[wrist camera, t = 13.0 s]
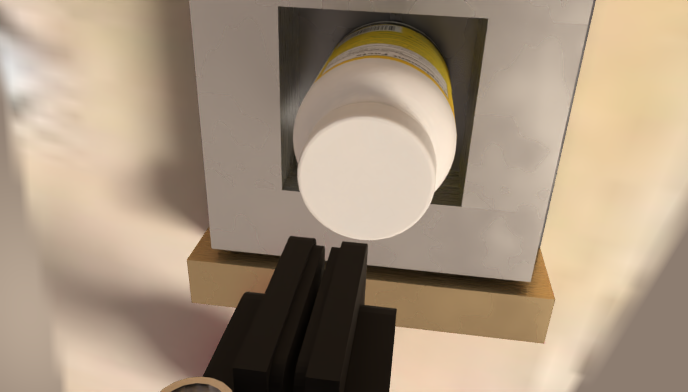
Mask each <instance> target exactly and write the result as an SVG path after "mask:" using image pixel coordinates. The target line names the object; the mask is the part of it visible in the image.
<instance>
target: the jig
mask: <svg viewBox="0 0 688 392" xmlns="http://www.w3.org/2000/svg"><path fill="white" fill-rule="evenodd" d="M595 1H596V0H189V7H190V18H191V29H192V40H193V51H194V62H195V73H196V84H197V95H198V106H199V116H200V127H201V138H202V149H203V160H204V171H205V182H206V193H207V204H208V215H209V228H208V229H207V231H206V232H205V234H204V235H203V237H202V238H201V240H200V241H199V243H198V244H197V246H196V247H195V249H194V250H193V251H192V253H191V254H190V256H189V257H188V259H187V265H188V274H189V283H190V291H191V300H192V303H200V304H208V305H217V306H226V307H234V308H236V307H237V305H238V303H239V301H240V299H241V297H242V296H243V294H244V293H245V292H255V293H264V294H265V291H266V289H267V287H268V284H269V282H270V280H271V277H272V275H273V273H274V271H275V268H276V266H277V264H278V261H279V259H280V257H281V254H282V252H283V250H284V247H285V245H286V243H287V240H288V238H289V237H290V236H297V237H307V238H315V239H316V245H320V246H324V247H325V267H326V264H327V260H328V257H329V254H330V250H331V248H332V247H339V248H340V247H341V243H342V241H347V242H356V243H366V244H368V255H367V271H366V288H365V305H370V306H379V307H388V308H396V309H397V313H396V324H395V326H398V327H406V328H415V329H423V330H432V331H441V332H449V333H458V334H466V335H475V336H484V337H492V338H501V339H509V340H518V341H527V342H535V343H544V341H545V337H546V333H547V329H548V325H549V322H550V318H551V314H552V310H553V306H554V302H555V298H554V294H553V291H552V288H551V284H550V281H549V277H548V274H547V270H546V267H545V264H544V260H543V257H542V253H541V250H540V245H541V241H542V237H543V232H544V228H545V223H546V219H547V214H548V210H549V206H550V201H551V197H552V192H553V188H554V183H555V179H556V174H557V170H558V166H559V161H560V157H561V152H562V148H563V143H564V139H565V134H566V130H567V126H568V121H569V117H570V112H571V108H572V103H573V99H574V94H575V90H576V86H577V81H578V77H579V72H580V68H581V63H582V59H583V55H584V50H585V46H586V41H587V37H588V32H589V28H590V23H591V19H592V15H593V10H594V6H595ZM379 21H394V22H400V23H404V24H407V25H410V26H412V27H414V28H416V29H418V30H420V31H421V32H423V33H424V34H426V35H427V36H428V37H429V38H430V39H431V40H432V41H433V42H434V43H435V44H436V45H437V47H438V48H439V50H440V51H441V53H442V54H443V56H444V58H445V61H446V64H447V67H448V70H449V75H450V79H451V89H452V97H453V106H454V115H455V123H456V133H457V139H456V151H455V156H454V160H453V163H452V165H451V168H450V170H449V172H448V174H447V176H446V178H445V179H444V181H443V182H442V184H441V185H440V186H439V188H438V189H437V190H436V191H435V192H434V195H433V198H432V201H431V203H430V205H429V207H428V209H427V210H426V212H425V213H424V215H423V216H422V217H421V218H420V219H419V220H418V221H417V222H416V223H415V224H414V225H413V226H411V227H410V228H409V229H407V230H405V231H404V232H402V233H400V234H398V235H395V236H392V237H389V238H385V239H379V240H359V239H353V238H349V237H346V236H343V235H340V234H338V233H336V232H334V231H332V230H330V229H329V228H327V227H325V226H324V225H323V224H322V223H320V222H319V221H318V220H317V219H316V218H315V217H314V216H313V214H312V213H311V212H310V211H309V210H308V208H307V207H306V205H305V203H304V201H303V199H302V196H301V193H300V191H299V187H298V180H297V168H298V162H297V159H296V156H295V152H294V145H293V130H294V123H295V118H296V115H297V112H298V109H299V107H300V105H301V103H302V101H303V99H304V97H305V96H306V94H307V92H308V91H309V89H310V88H311V86H312V84H313V83H314V81H315V79H316V78H317V76H318V74H319V72H320V71H321V69H322V67H323V66H324V64H325V62H326V61H327V59H328V57H329V56H330V54H331V52H332V51H333V49H334V48H335V47H336V45H337V44H338V43H339V42H340V41H341V40H342V39H343V38H344V37H345V36H346V35H348V34H349V33H350V32H352V31H353V30H355V29H357V28H359V27H361V26H363V25H366V24H369V23H373V22H379Z"/></svg>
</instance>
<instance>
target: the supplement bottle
mask: <svg viewBox="0 0 688 392" xmlns="http://www.w3.org/2000/svg"><path fill="white" fill-rule="evenodd" d="M456 139H457V133H456V123H455V115H454V106H453V97H452V89H451V79H450V75H449V70H448V67H447V64H446V61H445V58H444V56H443V54H442V53H441V51H440V50H439V48H438V47H437V45H436V44H435V43H434V42H433V41H432V40H431V39H430V38H429V37H428V36H427V35H426V34H424V33H423V32H421V31H420V30H418V29H416V28H414V27H412V26H410V25H407V24H404V23H400V22H394V21H379V22H373V23H369V24H366V25H363V26H361V27H359V28H357V29H355V30H353V31H352V32H350V33H349V34H348V35H346V36H345V37H344V38H343V39H342V40H341V41H340V42H339V43H338V44H337V45H336V47H335V48H334V49H333V51H332V52H331V54H330V56H329V57H328V59H327V61H326V62H325V64H324V66H323V67H322V69H321V71H320V72H319V74H318V76H317V78H316V79H315V81H314V83H313V84H312V86H311V88H310V89H309V91H308V92H307V94H306V96H305V97H304V99H303V101H302V103H301V105H300V107H299V109H298V112H297V115H296V118H295V123H294V130H293V145H294V152H295V156H296V159H297V162H298V168H297V180H298V187H299V191H300V193H301V196H302V199H303V201H304V203H305V205H306V207H307V208H308V210H309V211H310V212H311V213H312V214H313V216H314V217H315V218H316V219H317V220H318V221H319V222H320V223H322V224H323V225H324V226H325V227H327V228H329V229H330V230H332V231H334V232H336V233H338V234H340V235H343V236H346V237H349V238H353V239H359V240H379V239H385V238H389V237H392V236H395V235H398V234H400V233H402V232H404V231H405V230H407V229H409V228H410V227H411V226H413V225H414V224H415V223H416V222H417V221H418V220H419V219H420V218H421V217H422V216H423V215H424V213H425V212H426V210H427V209H428V207H429V205H430V203H431V201H432V198H433V195H434V192H435V191H436V190H437V189H438V188H439V186H440V185H441V184H442V182H443V181H444V179H445V178H446V176H447V174H448V172H449V170H450V168H451V165H452V163H453V160H454V156H455V151H456Z"/></svg>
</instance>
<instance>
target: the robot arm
mask: <svg viewBox="0 0 688 392" xmlns="http://www.w3.org/2000/svg"><path fill="white" fill-rule="evenodd" d="M367 255H368V244H366V243H356V242H347V241H342V243H341V247H340V248H339V247H332V248H331V250H330V254H329V257H328V260H327V264H326V267H325V247H324V246H320V245H316V239H315V238H307V237H297V236H290V237H289V238H288V240H287V243H286V245H285V247H284V250H283V252H282V254H281V257H280V259H279V261H278V264H277V266H276V268H275V271H274V273H273V275H272V277H271V280H270V282H269V284H268V287H267V289H266V291H265V294H264V293H255V292H245V293H244V294H243V296H242V297H241V299H240V301H239V303H238V305H237V307H236V309H235V312H234V314H233V316H232V318H231V320H230V322H229V324H228V326H227V328H226V330H225V332H224V334H223V336H222V338H221V340H220V342H219V344H218V346H217V349H216V351H215V353H214V355H213V357H212V359H211V361H210V363H209V365H208V367H207V369H206V371H205V373H204V375H203V377H192V378H186V379H183V380H180V381H177V382H174V383H172V384H171V385H169V386H167V387H165V388H164V389H162V390H161V391H160V392H389V388H390V377H391V367H392V356H393V345H394V335H395V324H396V313H397V309H396V308H388V307H379V306H370V305H365V288H366V271H367Z"/></svg>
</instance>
